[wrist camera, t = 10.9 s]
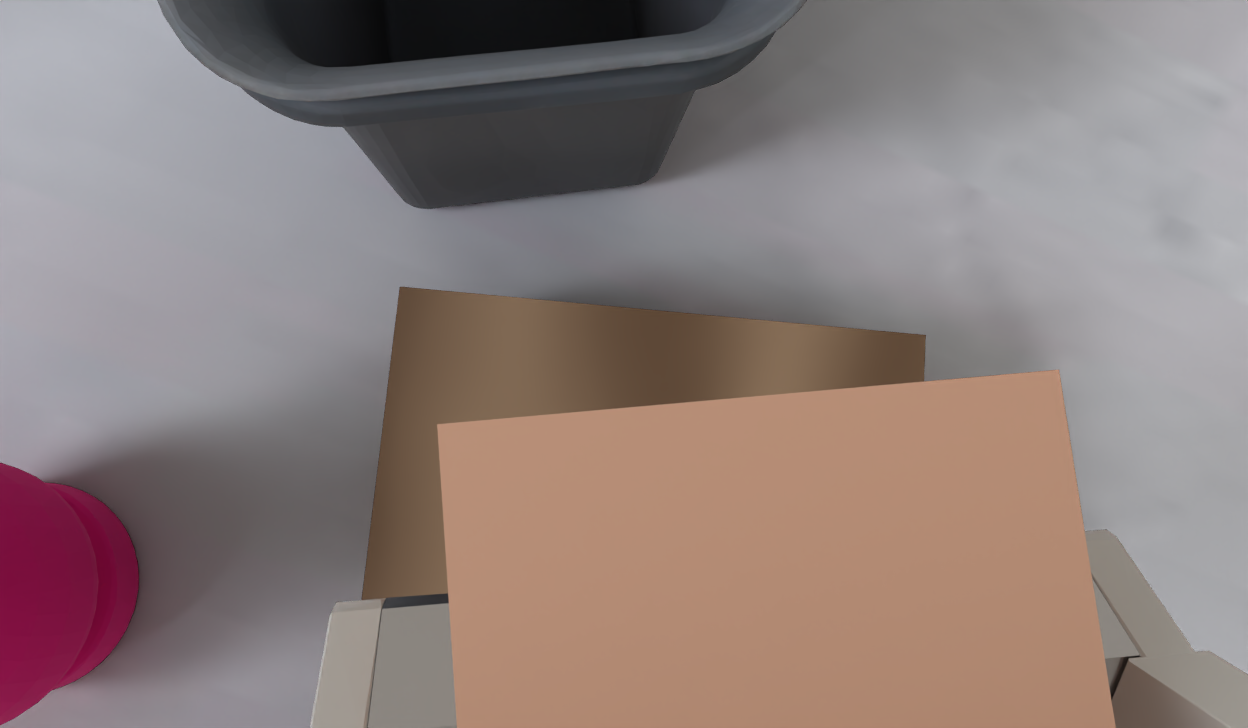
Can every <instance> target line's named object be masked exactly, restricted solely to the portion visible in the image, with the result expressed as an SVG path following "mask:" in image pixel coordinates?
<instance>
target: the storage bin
mask: <svg viewBox="0 0 1248 728" xmlns="http://www.w3.org/2000/svg"><path fill="white" fill-rule="evenodd" d="M157 1H158V3H159V5H160V8H161V10H162V12H163V15H164V17H165V18H166V20H167V22H168V23H169V24H170V26H171V27H172V29H173V30H174V32H175V33H176V35H177V36H178V38H179V39H180V41H181V42H182V44H183V45H184V46H185V48H186V49H187V50H188V51H189V52H190V53H191V54H192V55H194V56H195V57H196V58H197V59H198V60H199V61H200V62H201V63H202V64H203V65H204V66H206V67H207V68H209V69H210V70H211V71H213V72H214V73H215V74H217V75H218V76H220V77H221V78H223V79H225V80H227V81H229V82H231V83H233V84H235V85H237V86H239V87H241V88H242V89H243V90H244V91H245V92H246V93H247V94H249V95H250V96H252V97H253V98H254V99H256V100H257V101H259V102H260V103H261V104H263V105H265V106H267V107H268V108H270V109H272V110H273V111H275V112H277V113H280V114H282V115H284V116H286V117H289V118H291V119H293V120H297V121H301V122H305V123H308V124H313V125H319V126H329V127H343V128H344V129H345V130H346V131H347V132H348V134H349V135H350V136H351V137H352V138H353V139H354V141H355V142H356V143H357V144H358V145H359V147H360V148H361V149H362V150H363V152H364V153H365V154H366V155H367V157H368V158H369V159H370V160H371V161H372V163H373V164H374V165H375V166H376V168H377V169H378V170H379V171H380V172H381V174H382V175H383V176H384V177H385V179H386V180H387V181H388V182H389V183H390V185H391V186H392V187H393V188H394V190H395V191H396V192H397V193H398V194H399V196H400V197H401V198H402V199H403V200H404V201H405V202H406V203H408V204H410V205H412V206H414V207H418V208H425V209H433V208H441V207H448V206H456V205H465V204H473V203H482V202H490V201H498V200H507V199H515V198H524V197H532V196H540V195H549V194H558V193H567V192H576V191H585V190H594V189H603V188H611V187H620V186H629V185H637V184H641V183H643V182H646V181H648V180H649V179H651V178H652V177H653V176H654V175H655V174H656V173H657V171H658V170H659V168H660V166H661V164H662V162H663V159H664V157H665V155H666V153H667V150H668V148H669V146H670V144H671V141H672V139H673V137H674V135H675V133H676V131H677V129H678V126H679V124H680V122H681V120H682V118H683V115H684V113H685V111H686V109H687V106H688V104H689V102H690V100H691V98H692V96H693V93H694V91H695V90H697V89H701V88H704V87H707V86H710V85H713V84H716V83H719V82H720V81H722V80H724V79H726V78H728V77H730V76H732V75H733V74H735V73H737V72H738V71H740V70H741V69H742V68H744V67H745V66H746V65H747V64H749V63H750V62H751V61H752V60H753V59H754V58H755V57H756V56H757V55H758V54H759V53H760V52H761V51H762V50H763V49H764V48H765V47H766V46H767V44H768V43H769V41H770V40H771V38H772V36H773V35H774V33H775V32H776V30H777V29H779V28H781V27H782V26H784V25H785V24H786V23H787V22H788V21H789V20H790V19H791V18H792V17H793V16H794V15H795V14H796V13H797V12H798V11H799V10H800V8H801V7H802V6H803V5H804V3H805V2H806V1H807V0H157Z"/></svg>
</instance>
